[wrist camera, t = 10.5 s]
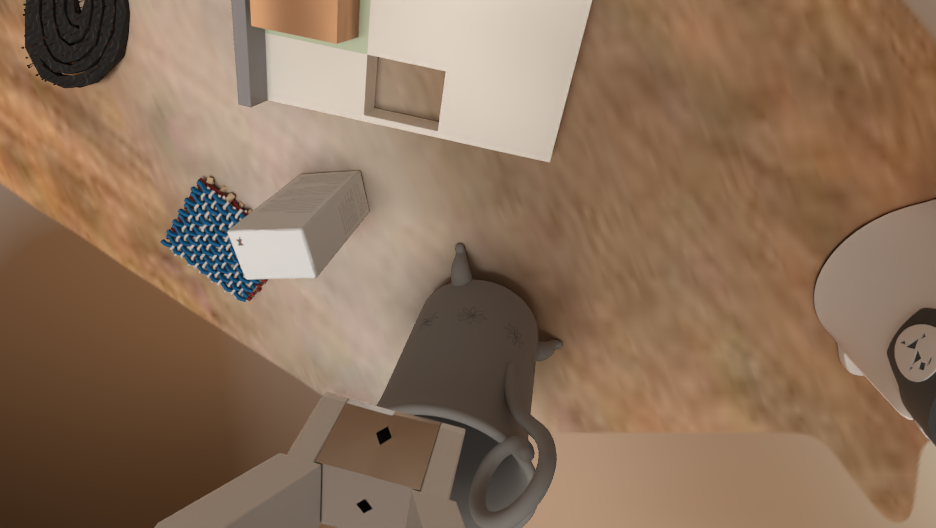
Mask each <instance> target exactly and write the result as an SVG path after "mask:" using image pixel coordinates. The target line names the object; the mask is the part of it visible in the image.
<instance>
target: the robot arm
mask: <svg viewBox="0 0 936 528" xmlns="http://www.w3.org/2000/svg"><path fill="white" fill-rule="evenodd" d="M814 304H815V310H816V313H817V316H818V318H819V320H820V322H821V324H822V325H823V327H824V328H825V329H826V330H827V331H828V332H829V334H830V335H831V336H832V337H833V338H834V339H835V341H836V343H837V345H838V353H839V358H840V361H841V363H842V365H843V366H844V367H845V368H846V369H847V370H848V371H849V372H850V373H851V374H854V375H859V376H865V377H866V378H867V379H868V380H869V381H870V382H871V384H872V385H873V386H874V387H875V388H876V389H877V390H878V391H879V392H880V393H881V394H882V396H883V397H884V398H885V399H886V400H887V401H888V402H889V403H890V404H891V405H892V406H893V407H894V409H895V410H896V411H897V412H898V413H899V414H900V415H902V416H903V417H905V418H907V419H909V420H913V419H914V420H915V421H914V422H915V424H916V425H917V426H918V428H919V429H920V431H921V432H922V433H923V434H924V435H925V437H926V438H927V439H928V440H930V441H931V442H932V443H933V444H934V445H935V446H936V199H935V200H932V201H928V202H925V203H921V204H917V205H913V206H909V207H906V208H903V209H900V210H897V211H894V212H891V213H889V214H887V215H884V216H882V217H880V218H878V219H876V220H874V221H872V222H871V223H869V224H867V225H866V226H864V227H862V228H861V229H859V230H858V231H856V232H855V233H854V234H852V235H851V236H850V237H849V238H847V239H846V240H845V241H844V242H843V243H842V244H841V245H840V246H839V247H838V248H837V249H836V250H835V251H834V252H833V254H832V255H831V256H830V257H829V259H828V260H827V262H826V263H825V265H824V266H823V268H822V270H821V272H820V274H819V277H818V279H817V283H816V286H815V292H814ZM464 436H465V429H464V428H460V427H456V426H453V425H449V424H445V423H442V424H441V422H439V421H435V420H431V419H427V418H423V417H419V416H415V415H411V414H407V413H403V412H399V411H392V410H389V409H385V408H382V407H379V406H375V405H372V404H368V403H365V402H362V401H358V400H355V399H351V398H347V397H344V396H340V395H337V394H333V393H329V392H327V393H325V394H324V395H323V396H322V397H321V399H320V400H319V402H318V404H317V405H316V407H315V408H314V410H313V412H312V413H311V415H310V417H309V419H308V420H307V422H306V423H305V425H304V427H303V428H302V430H301V432H300V433H299V435H298V437H297V438H296V440H295V442H294V443H293V445H292V447H291V449H290V450H289V452H288V453H287V455H285V454H281V453H279V454H277V455H275V456H274V457H272V458H270V459H268V460H267V461H265V462H263V463H261V464H260V465H258V466H256V467H254V468H253V469H251V470H249V471H248V472H246V473H244V474H242V475H241V476H239V477H237V478H235V479H234V480H232V481H231V482H229V483H227V484H225V485H223V486H222V487H220V488H218V489H216V490H215V491H213V492H211V493H209V494H208V495H206V496H204V497H202V498H201V499H199V500H197V501H195V502H194V503H192V504H190V505H189V506H187V507H185V508H184V509H182V510H180V511H178V512H176V513H175V514H173V515H171V516H169V517H168V518H166V519H164V520H162V521H161V522H159V523H158V524H157V525H156V527H155V528H318V527H319V526H320V523H322V524H326V525H330V526H334V527H338V528H466V527H465V525H464V522H463V519H462V516H461V514H460V511H459V508H458V505H457V503H456V502H455V501H452V500H449V498H450V494H451V490H452V486H453V482H454V478H455V473H456V469H457V465H458V461H459V457H460V453H461V448H462V444H463V440H464Z"/></svg>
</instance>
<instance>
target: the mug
mask: <svg viewBox="0 0 936 528" xmlns="http://www.w3.org/2000/svg"><path fill="white" fill-rule="evenodd" d="M455 250H456V256H455V259H454V261H453V265H452V269H451V282H452V283H449V284H447V285H445V286H443V287H441V288H439V289H438V290H436V291H435V292H434V293H433V294H432V295H431V296H430V297H429V298H428V299H427V300H426V302H425V304H424V306H423V308H422V310H421V312H420V314H419V316H418V319H417V321H416V323H415V325H414V327H413V330H412V332H411V334H410V336H409V338H408V341H407V343H406V345H405V347H404V349H403V352H402V354H401V356H400V358H399V360H398V363H397V365H396V367H395V369H394V371H393V374H392V376H391V378H390V380H389V382H388V385H387V387H386V389H385V391H384V393H383V395H382V397H381V399H380V401H379V402H378V404H377V406H379V407H382V408H385V409H389V410H392V411H399V412H403V413H407V414H411V415H415V416H419V417H423V418H427V419H431V420H435V421H439V422H441V424H442V423H445V424H449V425H453V426H456V427H460V428H464V429H465V436H464V440H463V444H462V448H461V453H460V457H459V461H458V465H457V469H456V473H455V478H454V482H453V486H452V490H451V494H450V498H449V500H452V501H455V502H456V503H457V505H458V508H459V511H460V514H461V516H462V519H463V522H464V525H465V527H466V528H522V527H523V526H524V525H525V524H526V523H527V522H528V521H529V520H530V519H531V517H532V516H533V514H534V513H535V510H536V508H537V506H538V504H539V503H540V502H541V500H542V499H543V497H544V496H545V494H546V492H547V490H548V488H549V486H550V484H551V481H552V479H553V476H554V472H555V468H556V460H557V458H556V448H555V444H554V440H553V438H552V436H551V434H550V432H549V431H548V429H547V428H546V427H545V426H544V425H543V424H541V423H540V422H539V421H538V420H536V419H535V418H534V417H533V416H532V415H531V414H530V413H531V403H532V393H533V383H534V373H535V363H536V361H542V360H545V359H547V358H549V357H550V356H551V355H552V354H553V353H554V351H555V349H561V348H562V346H563V344H562V342H561V341H558V340H549V341H546V342H542V341H538V328H537V323H536V320H535V318H534V315H533V313H532V312H531V310H530V308H529V307H528V306H527V304H526V303H525V302H524V301H523V300H522V299H521V298H520V297H519V296H517V295H516V294H515V293H513V292H512V291H510V290H509V289H507V288H505V287H503V286H501V285H498V284H495V283H492V282H488V281H483V280H472V275H471V271H470V268H469V265H468V261H467V257H466V252H465V249H464V246H463V245H462V244H457V245H456V247H455ZM528 434H529V435H530V436H531V437H532V438H533V439H534V440H535V442H536V443H537V447H538V450H539V458H538V464H537V468H536V470H535V468H534V466H533V464H532V462H531V460H532V459H533V458H534V449H533V446H532V444H531V443H530V442H529V441H528Z"/></svg>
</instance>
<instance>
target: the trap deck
mask: <svg viewBox="0 0 936 528" xmlns="http://www.w3.org/2000/svg"><path fill="white" fill-rule="evenodd" d="M231 2H232V16H233V31H234V46H235V60H236V75H237V89H238V104H239V105H244V106H248V107H252V106H255V105H257V104H260V103H262V102H264V101H267V100H270V101H274V102H279V103H283V104H288V105H292V106H297V107H301V108H306V109H310V110H315V111H319V112H324V113H328V114H333V115H337V116H342V117H346V118H351V119H355V120H360V121H364V122H369V123H373V124H378V125H383V126H387V127H392V128H396V129H401V130H405V131H410V132H414V133H419V134H423V135H428V136H432V137H437V138H441V139H446V140H450V141H455V142H459V143H464V144H468V145H473V146H477V147H482V148H486V149H491V150H495V151H500V152H504V153H509V154H513V155H518V156H522V157H527V158H531V159H536V160H540V161H545V162H549V163H550V159H551V156H552V152H553V148H554V144H555V140H556V137H557V133H558V129H559V125H560V121H561V118H562V114H563V110H564V106H565V102H566V98H567V95H568V91H569V87H570V83H571V79H572V76H573V72H574V68H575V64H576V60H577V57H578V53H579V49H580V45H581V41H582V38H583V34H584V30H585V26H586V22H587V18H588V15H589V11H590V7H591V3H592V0H360V13H359V34H358V38H354V39H351V40H348V41H345V42H341V43H338V44H335V43H330V42H325V41H320V40H316V39H311V38H306V37H301V36H297V35H292V34H287V33H282V32H278V31H273V30H268V29H263V28H259V27H254V26H251V11H250V0H231ZM378 57H381V58H386V59H390V60H395V61H400V62H404V63H409V64H414V65H418V66H423V67H428V68H433V69H437V70H442V71H446V74H445V81H444V89H443V96H442V103H441V111H440V118H439V122H437V121H433V120H428V119H423V118H419V117H414V116H410V115H405V114H401V113H396V112H392V111H387V110H382V109H378V108H374V106H375V91H376V77H377V62H378Z"/></svg>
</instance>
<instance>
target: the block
mask: <svg viewBox="0 0 936 528" xmlns="http://www.w3.org/2000/svg"><path fill="white" fill-rule="evenodd" d="M250 11H251V26H254V27H259V28H263V29H268V30H273V31H278V32H282V33H287V34H292V35H297V36H301V37H306V38H311V39H316V40H320V41H325V42H330V43H335V44H338V43H341V42H345V41H348V40H351V39H354V38H358V34H359V13H360V0H250Z"/></svg>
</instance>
